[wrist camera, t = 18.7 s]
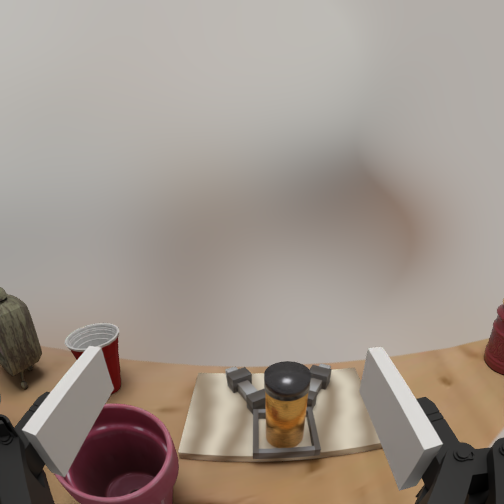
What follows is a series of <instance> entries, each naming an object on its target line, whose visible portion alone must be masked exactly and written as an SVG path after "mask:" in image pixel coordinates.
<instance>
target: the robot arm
mask: <svg viewBox="0 0 504 504" xmlns="http://www.w3.org/2000/svg"><path fill="white" fill-rule="evenodd" d="M113 390H114V387H113V384H112V381H111V378H110V375H109V372H108V369H107V365H106V362H105V359H104V355H103V352H102V348H101V347H94V346H89V347H88V348H87V349H86V350H85V351H84V353H83V354H82V355H81V356H80V357H79V358H78V360H77V361H76V362H75V363H74V364H73V366H72V367H71V368H70V369H69V370H68V372H67V373H66V374H65V375H64V376H63V378H62V379H61V380H60V381H59V383H58V384H57V385H56V386H55V388H54V389H53V390H52V391H51V393H50V392H46V393H44V394H43V395H41V396H40V397H38V399H37V400H36V401H35V402H34V404H33V405H32V406H31V407H30V409H29V411H27V412H26V414H25V415H24V416H23V417H22V419H21V420H20V421H19V422H18V424H17V425H16V426H15V428H14V427H13V425H12V424H11V422H10V420H9V419H8V418H7V417H6V416H5V415H2V414H0V504H54V501H53V498H52V495H51V492H50V488H49V485H48V481H47V478H46V474H45V472H44V470H43V467H44V465H46V466H47V467H48V469H49V470H50V471H51V472H52V473H55V474H57V475H60V476H62V477H65V476H66V474H67V472H68V470H69V468H70V467H71V465H72V463H73V461H74V459H75V457H76V455H77V453H78V452H79V450H80V448H81V446H82V444H83V442H84V441H85V439H86V437H87V435H88V433H89V432H90V430H91V428H92V426H93V424H94V423H95V421H96V419H97V417H98V416H99V414H100V412H101V410H102V409H103V407H104V405H105V403H106V402H107V400H108V398H109V396H110V395H111V393H112V391H113ZM359 392H360V395H361V397H362V399H363V402H364V404H365V406H366V409H367V411H368V413H369V416H370V418H371V421H372V423H373V425H374V428H375V430H376V433H377V435H378V438H379V440H380V443H381V445H382V447H383V450H384V452H385V455H386V458H387V460H388V463H389V465H390V468H391V470H392V473H393V475H394V478H395V481H396V483H397V486H398V489H399V491H400V490H403V489H406V488H410V487H413V486H416V485H417V484H418V482H419V481H420V479H421V478H422V479H423V482H424V484H425V485H424V486H423V487H422V489H421V490H420V491H419V493H418V494H417V495H416V497H418V498H417V500H416V502H415V504H504V438H500V439H498V440H497V441H495V443H494V444H493V446H492V447H491V448H483V449H474V448H473V447H472V446H471V445H469V444H467V443H460V442H459V441H458V439H457V438H456V436H455V434H454V433H453V431H452V430H451V428H450V427H449V425H448V424H447V422H446V420H445V419H443V418H444V417H443V416H442V414H441V413H439V410H438V408H437V407H436V405H435V404H434V403H433V402H432V401H430V400H429V399H428V398H426V397H423V398H418V399H416V398H415V397H414V395H413V393H412V392H411V390H410V389H409V387H408V386H407V384H406V382H405V381H404V379H403V378H402V376H401V375H400V373H399V371H398V370H397V368H396V367H395V365H394V364H393V362H392V361H391V359H390V358H389V356H388V355H387V353H386V352H385V350H384V349H383V347H377V348H368V351H367V356H366V362H365V366H364V371H363V376H362V381H361V385H360V389H359ZM0 402H1V396H0Z"/></svg>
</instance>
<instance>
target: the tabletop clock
mask: <svg viewBox="0 0 504 504" xmlns="http://www.w3.org/2000/svg"><path fill="white" fill-rule="evenodd" d="M41 355H42V351H41V347H40V344H39V340H38V337H37V334H36V331H35V328H34V324H33V321H32V318H31V315H30V313H29V310H28V308H27V306H26V304H25V303H24V302H23V301H21V300H20V299H18V298H17V297H15V296H12V295H8V294H6V292H5V290H4V289H3V288H1V287H0V364H1V365H2V367H3V368H4V369H5V370H6V371H7V372H8V373H9V374H10V375H12V376H14V375H16V374H18V373H19V372H20V374H21V378H22V382H21V386H22V388H24V389H26V388H27V387H28V384H27V382H25V381H24V369H26V368H27V369H28V370H32V368H33V367H32V365H33V364H35V363H36V362H38V361H39V359H40V357H41Z"/></svg>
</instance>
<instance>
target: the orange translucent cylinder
mask: <svg viewBox="0 0 504 504" xmlns="http://www.w3.org/2000/svg"><path fill="white" fill-rule="evenodd" d="M310 382H311V372H310V370H309V369H308V368H307V367H306V366H304V365H302V364H300V363H296V362H288V361H287V362H279V363H275V364H273V365H271V366H269V367H268V368H267V369H266V370H265V373H264V389H265V398H266V440H267V441H268V443H269V444H271V445H272V446H274V447H276V448H292V447H295V446H297V445H298V444H299V443H300V442H301V441H302V439H303V434H304V426H305V418H306V409H307V400H308V392H309V390H310Z"/></svg>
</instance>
